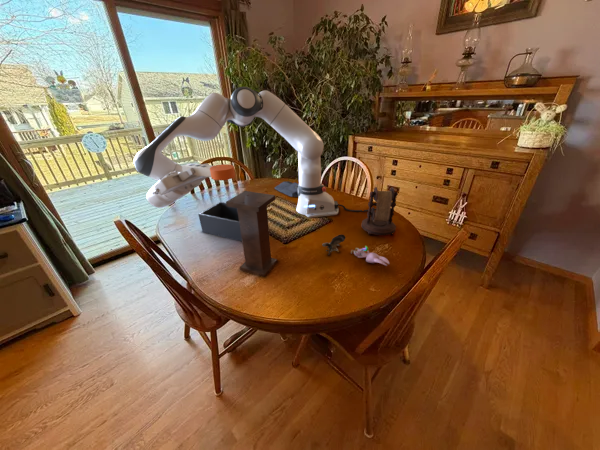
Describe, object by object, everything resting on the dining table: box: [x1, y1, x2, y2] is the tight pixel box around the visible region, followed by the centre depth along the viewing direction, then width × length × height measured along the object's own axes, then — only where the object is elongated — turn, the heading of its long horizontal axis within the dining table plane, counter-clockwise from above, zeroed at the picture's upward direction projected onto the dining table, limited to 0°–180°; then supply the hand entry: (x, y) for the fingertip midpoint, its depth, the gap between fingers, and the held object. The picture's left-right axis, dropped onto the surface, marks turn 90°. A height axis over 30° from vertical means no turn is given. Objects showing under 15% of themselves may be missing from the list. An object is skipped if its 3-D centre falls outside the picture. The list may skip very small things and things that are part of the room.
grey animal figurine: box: [321, 233, 347, 256], centre depth 91 cm, size 8×7×9 cm
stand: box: [225, 190, 278, 278], centre depth 79 cm, size 11×10×26 cm
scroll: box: [360, 186, 399, 236], centre depth 102 cm, size 15×15×20 cm
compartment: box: [197, 201, 242, 242], centre depth 106 cm, size 23×15×9 cm, turn 67°
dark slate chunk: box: [274, 180, 299, 198], centre depth 151 cm, size 15×22×5 cm
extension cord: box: [181, 162, 236, 181], centre depth 74 cm, size 18×7×3 cm, turn 67°
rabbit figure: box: [350, 245, 390, 267], centre depth 85 cm, size 6×6×15 cm
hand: (198, 168), depth 75 cm, fingers closed on extension cord, 3 cm apart
